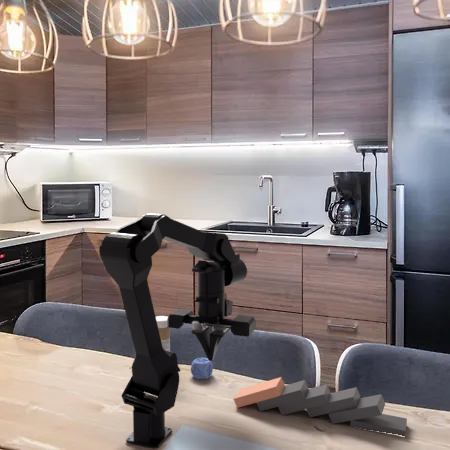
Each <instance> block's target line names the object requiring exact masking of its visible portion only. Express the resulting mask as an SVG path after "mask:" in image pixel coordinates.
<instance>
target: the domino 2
mask: <svg viewBox="0 0 450 450" xmlns="http://www.w3.org/2000/svg"><path fill="white" fill-rule="evenodd" d="M308 389H310V387H309V386H308V383H307V381H306V380H305V379H303V380H300V381H296V382H294V383H290V384H287V385H286V384H285V387H284V389H283V391H282V393H281V394H280V396H277V397H274V398H270V399H267V400H263V401H260V402H256V404H257V407H258V409H259V411H260V412H263V411H267V410H271V409H273V408H274V409H275V408H279V407H278V406H281V405H285V404H289V403H292V402H296V401H300V400H303V399H305V397H306V394H307V392H308Z"/></svg>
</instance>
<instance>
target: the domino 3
mask: <svg viewBox="0 0 450 450" xmlns="http://www.w3.org/2000/svg"><path fill="white" fill-rule="evenodd" d="M331 393H332V392H331V390H330V387H329V385H328V384H327V383H325V384H322V385H318V386H315V387H309V389H308V392H307V394H306V397H305V399H303V400H300V401H296V402H292V403H289V404H285V405H281V406H278V407H277V408H278V409H279V412H280V415H281V416H285V415H288V414H294V413H296V412H300V411H304V410H307V409H309V408H313V407H317V406H321V405H325V404H328V401H329V398H330V394H331Z"/></svg>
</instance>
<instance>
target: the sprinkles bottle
mask: <svg viewBox="0 0 450 450" xmlns="http://www.w3.org/2000/svg"><path fill="white" fill-rule="evenodd" d="M167 319H168V316H166V315H158V316H156V321H157V325H158V329H159V334H160V338H161V342H162V347H163V349H164V350H167V351H171V337H170V335H171V334H170V329H171V328H169V327H167Z"/></svg>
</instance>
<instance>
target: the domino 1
mask: <svg viewBox="0 0 450 450" xmlns="http://www.w3.org/2000/svg"><path fill="white" fill-rule="evenodd" d="M285 386H286V384H285V382H284V380H283V378H282V376H280V377H276V378H273V379H271V380H266V381H263V382H260V383H257V384H254V385H251V386H246V387H244V388H240V389H239V391H238V392H237V394H236V395H235V396H234V397H233V401H234V403H235V406H236V408H237V409H238V408H241V407H245V406H249V405H252V404H257V402H260V401H263V400H267V399H270V398H274V397H277V396H280V394H281V393H282V391H283V389H284V387H285Z"/></svg>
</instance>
